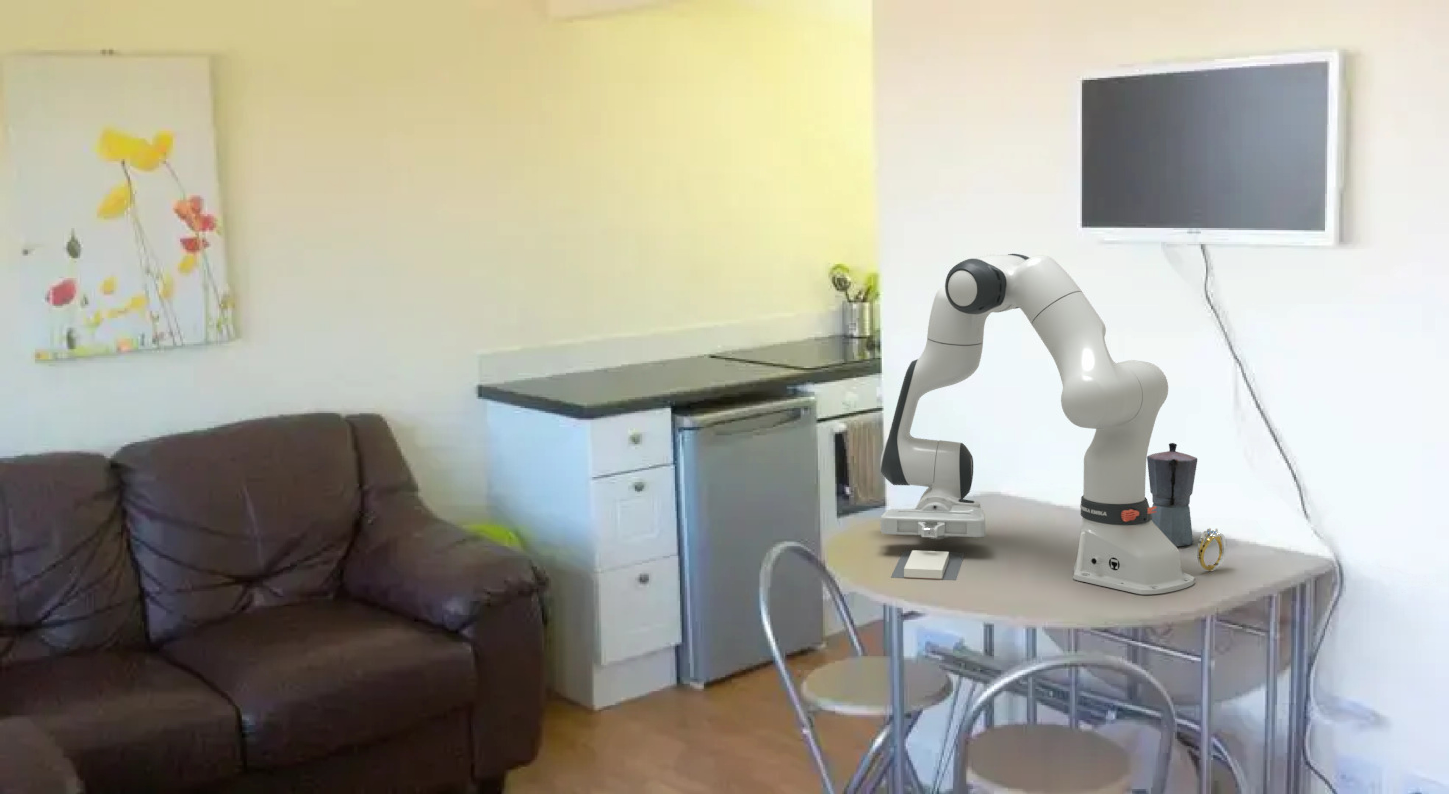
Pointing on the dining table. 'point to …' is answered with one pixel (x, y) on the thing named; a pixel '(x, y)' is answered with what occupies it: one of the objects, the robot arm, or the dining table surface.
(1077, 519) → the dining table surface
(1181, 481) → the moka pot
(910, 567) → the tile
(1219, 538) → the ring
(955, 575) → the mat
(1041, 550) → the dining table surface
